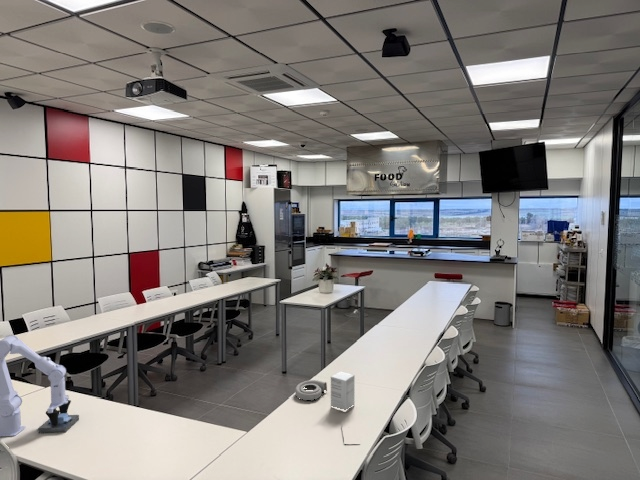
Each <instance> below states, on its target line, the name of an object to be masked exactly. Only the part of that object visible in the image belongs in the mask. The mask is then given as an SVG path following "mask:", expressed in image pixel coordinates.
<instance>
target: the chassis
mask: <svg viewBox="0 0 640 480" xmlns="http://www.w3.org/2000/svg"><path fill="white" fill-rule="evenodd" d="M68 417H71V419H70V420H69V421H70V422H67V423H65V424H57V425H52V424H50V423H47V421H48V420H49V418H48V419H47V420H46V421H45V422H43V424H41V425H40V426H39V427H38V428H37V431H38V434H59V433H63V434H64V433H67V432H68V431H69V430H71V428H72V427H73V426H75V424H76V423H78V421H79V420H80V415H79V414H68Z"/></svg>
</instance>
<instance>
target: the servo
mask: <svg viewBox="0 0 640 480" xmlns="http://www.w3.org/2000/svg"><path fill="white" fill-rule="evenodd" d="M68 415H69V413H68V412H67V413H59V416H58V423H57V424H65V423H67V422H70V421H69V420H70V419H71V417H68ZM48 419H49V418H48ZM48 419H47V420H48ZM47 420H46V421H47ZM47 423H50V424H51V421H50V419H49V420H48V421H47Z"/></svg>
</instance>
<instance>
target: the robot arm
mask: <svg viewBox="0 0 640 480" xmlns="http://www.w3.org/2000/svg"><path fill="white" fill-rule="evenodd" d="M8 354H9V355H15V354H18V355H19V354H20V355H21V356H22V357H24V358H26V359H27V360H29V361H31V362H33V363H34V366H35V368H36V369H37V370H39V371H40V372H42V373H43V374H45V375H46V376H47V379H48V381H49V382H50V404H49V406H48V408H47V410H45V415H46V416H47V417H48V419H50V421H51V424H52V425H57V423H58V416H59V413H68V410H69V407H70V404H71V403H72V400H71V399H70V395H69V394H66V381H65V380H66V379H65V376H66V373H67V368H66V367H65V366H64V365H62V364H58V363H55V362H54V361H52V359H51V357H47V356H41V355H39V354H38V353H37V352H35V351H34V350H33V349H32V348H31V347H30V346H28V345H27V344H26V343H25V342H24V341H23V340H22V339H21V338H19V337H17V336H16V335H13V334H8V335H6V336H5V337H4V338H1V340H0V437H16V436H17V435H18V434H20V432H22V431H23V430H24V429H26V425H23V426H22V420H21V408H20V407H21V406H22V404H23V399H22V397H21V396H20V395H19V393H18V391H17V390H15V389H14V386H13V382H12V379H11V376H10V373H9V369H8V365H7V362H6V357H7V356H8ZM69 399H70V400H69ZM57 408H58V410H57Z"/></svg>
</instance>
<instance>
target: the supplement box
mask: <svg viewBox="0 0 640 480" xmlns="http://www.w3.org/2000/svg"><path fill="white" fill-rule="evenodd" d="M352 405H354V406H355V374H352V373H348V372H344V371H338V372H337V373H335V374H333V375H332V376H330V407H331V406H333V407H337V408H340V409H344V410H346V409H348V408H349V407H351V406H352Z"/></svg>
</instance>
